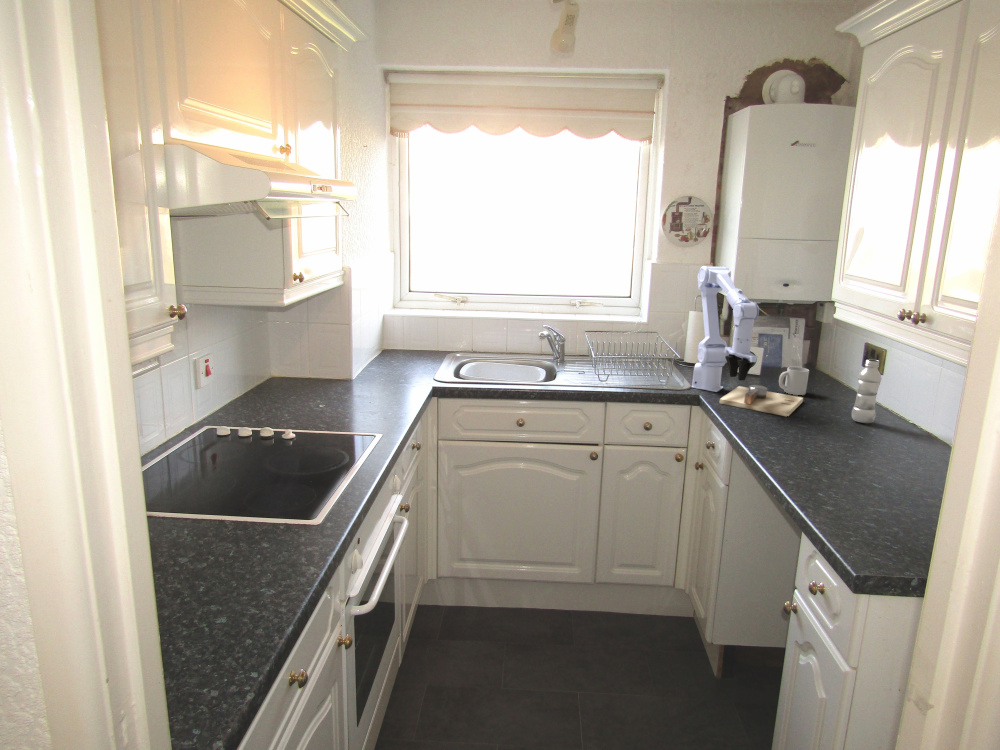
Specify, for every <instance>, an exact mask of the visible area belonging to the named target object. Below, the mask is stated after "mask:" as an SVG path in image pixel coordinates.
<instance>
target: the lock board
mask: <svg viewBox="0 0 1000 750" xmlns="http://www.w3.org/2000/svg"><path fill="white" fill-rule="evenodd" d="M748 389H749V387H746V386H741V385H739V386H737V387H735V388H734V389H732V390H731V391H730V392H728V393H727V394H725V395H723V396H722V397H721V398H719V401H718V402H719V404H721V405H727V406H731V407H736V408H741V409H742V408H743V409H747V410H751V411H757V412H763V413H766V414H767V413H768V414H773V415H776V416H782V417H787V416H788V417H789V416H790V415H791V414H792V413H793V412H794V411H795V410H796V409H797V408H799V406H800V405H801V404H802V403H803V402H804V397H802V396H797V395H791V394H786V393H785V394H784V393H777V392H774V391H773V392H772V391H768V390H767V395H766V398H757V399H756V400H755V401H753V402H752V403H751V404H748V403H744V400H745V394H746V393H747V392H748Z"/></svg>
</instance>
